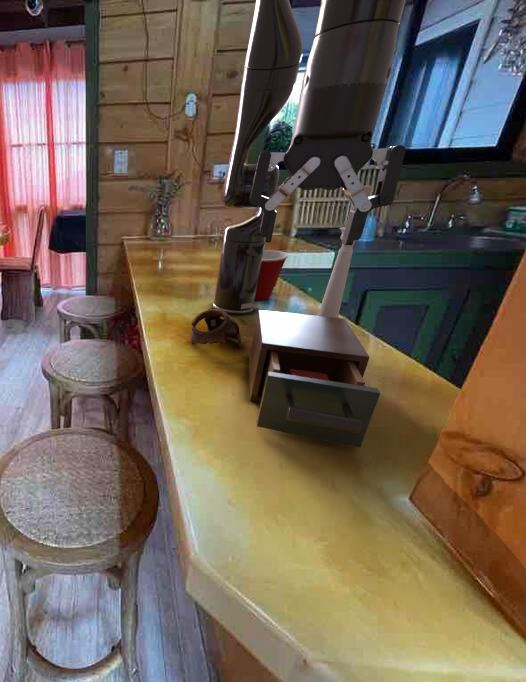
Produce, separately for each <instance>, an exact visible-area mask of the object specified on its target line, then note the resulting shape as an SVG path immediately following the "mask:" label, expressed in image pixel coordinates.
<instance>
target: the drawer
mask: <svg viewBox="0 0 526 682" xmlns="http://www.w3.org/2000/svg"><path fill="white" fill-rule="evenodd" d="M290 369H296V370H303V371H310V372H317V373H324V374H327V376H328V379H329V381H327V380H320V379H314V378H307V377H301V376H294V375H288V374H289V370H290ZM261 393H262V400H261V402H260V405H259V408H258V412H257V413H258V414H257V418H256V427H257V428H263V429H267V430H273V431H277V432H281V433H287V434H292V435H296V436H302V437H306V438H312V439H316V440H322V441H326V442H331V443H336V444H340V445H346V446H350V447H356V448H361V446H362V443H363V441H364V438H365V435H366V433H367V430H368V427H369V425H370V423H371V420H372V417H373V415H374V412H375V409H376V406H377V404H378V402H379V398H380V396H381V392H380V390H379V388H377V387H372V386H366V382H365V379H364V377H363V378H362V376H361V374H360V373H359V371H358V369H357V367H356V365H355V364H354V362H353V361H351V360H343V359H336V358H328V357H321V356H313V355H306V354H299V353H291V352H284V351H276V350H269V349H268V350H267V355H266V359H265V364H264V369H263V373H262V378H261Z"/></svg>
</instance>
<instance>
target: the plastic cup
mask: <svg viewBox="0 0 526 682" xmlns="http://www.w3.org/2000/svg"><path fill="white" fill-rule="evenodd" d="M289 256H290V254H289V253H287V252H284V251H282V250H270V249H269V250H267V249H266V250H265V249H264V251H263V257H262V262H261V268H260V273H259V278H258V284H257V289H256V294H255V299H254V301H255V300H257V301H268V300H269V299H270V298H271V296H272V294H273V291H274V289H275V287H276V284H277V281H278V279H279V277H280V275H281V272H282V269H283V267H284V264H285V262H286V260H287V259H288V257H289Z"/></svg>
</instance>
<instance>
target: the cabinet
mask: <svg viewBox="0 0 526 682" xmlns="http://www.w3.org/2000/svg"><path fill="white" fill-rule="evenodd" d="M268 349H269V350H276V351H284V352H291V353H299V354H306V355H313V356H321V357H328V358H336V359H343V360H351V361H353V362H354V364H355V365H356V367H357V369H358V371H359V373H360V374H361V376H362V378H363V379H364V375H365V372H366V370H367V366H368V364H369V360H370V355H369V353H368V352H367V350H366V349H365V347H364V346H363V345H362V343H361V341H360V340H359V338H358V337H357V335H356V334H355V332H354V331H353V329H352V328H351V326H350V325H349V323H348V322H347V320H346V319H345V318H344V317H343V318H342V317H338V318H333V317H323V316H318V315H312V314H302V313H294V312H283V311H272V310H263V309H258V310H257V317H256V322H255V327H254V331H253V338H252V342H251V347H250V352H249V358H248V369H249V370H248V373H249V401H251V402H256V403H261V400H262V393H261V378H262V373H263V369H264V364H265V359H266V355H267V350H268Z"/></svg>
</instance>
